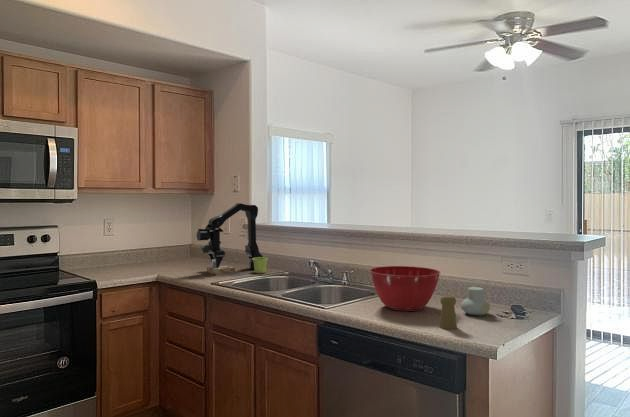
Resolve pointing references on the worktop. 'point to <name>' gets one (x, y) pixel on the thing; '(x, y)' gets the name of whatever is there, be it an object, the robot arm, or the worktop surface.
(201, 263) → the worktop surface
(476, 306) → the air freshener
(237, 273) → the pad
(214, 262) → the plug
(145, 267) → the worktop surface
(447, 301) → the cork
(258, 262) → the plant pot
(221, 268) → the socket block
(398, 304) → the mixing bowl
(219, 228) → the robot arm
